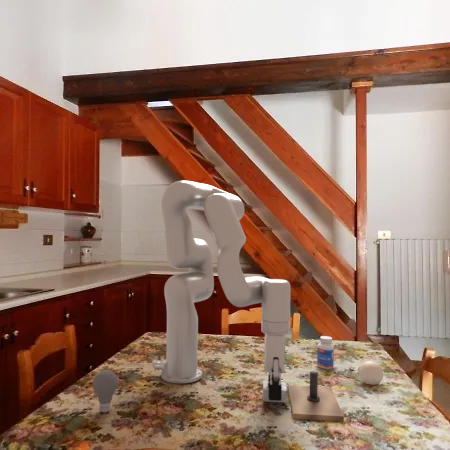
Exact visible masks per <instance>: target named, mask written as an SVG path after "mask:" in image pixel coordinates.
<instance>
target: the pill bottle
mask: <svg viewBox="0 0 450 450" xmlns="http://www.w3.org/2000/svg"><path fill="white" fill-rule="evenodd" d="M316 349H317V351H316V352H317V356H316V358H317V359H316V366H317V367H318V368H321V369H326V370H327V369H328V370H331V369H332V368H334V361H335V359H334V358H335V357H334V356H335V346H334V344H333V337H331V336H328V335H326V336H325V335H321V336H320V337H319V343H317V348H316Z"/></svg>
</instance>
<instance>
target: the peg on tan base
mask: <svg viewBox="0 0 450 450" xmlns="http://www.w3.org/2000/svg"><path fill="white" fill-rule="evenodd" d="M318 376H319V374H318V372H317V371H315V370H314V371H309V386H308V385H287V392H288V393H287V394H288V398H289V402H290V403H289V404H290V408H291V413H292V414H291V415H292V419H295V420H312V421H327V422H328V421H330V422H345V416H344V413H343V411H342V409H341V407H340V405H339V402H338V400H337V399H336V396H335V394H334V391H333V389H332V387H328V386H327V387H325V386H324V387H323V386H319V385H318V380H319V377H318Z"/></svg>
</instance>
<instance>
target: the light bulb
mask: <svg viewBox="0 0 450 450" xmlns="http://www.w3.org/2000/svg"><path fill="white" fill-rule="evenodd" d="M118 384H119V378H118V376H117V374H116V373H115V372H114V371H112V370H110V369H103V370H101V371H100V372H98V373H96V375H95V376H94V378H93V381H92V388H93V391H94V392H95V394H96V396H97V400H98V403H99V412H101V413H107V412H109V411H111V404H112V403H111V401H113V395H114V393H115V392H116V389H117V388H118Z"/></svg>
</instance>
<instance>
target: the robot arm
mask: <svg viewBox="0 0 450 450" xmlns="http://www.w3.org/2000/svg"><path fill="white" fill-rule="evenodd" d="M187 210H198V211H203V212H204V215H205V218H206V221H207V223H208V225H209V227H210V231H211V233H212V236H213V238H214V241H215V243H216V245H217V249H218V252H217V257H216V258H217V261H216V263H217V264H216V267H217V268H216V272H217V277H218V280H219V282H220V285H221V289H222V290H223V293H224V295H225V297H226V299H227V300H228V301H229V303H231V304H232V305H233V306H235V307H237V308H243V307H248V306H252V305H256V304H260V303H261V325H260V326H261V330H260V331H261V333H263V334H264V352H263V353H264V354H263V355H264V356H263V357H264V362H263V364H264V365H263V366H264V367H263V369H264V373H265V374H268V380H267V381H270V384H269V400H275V401H281V392H282V384H281V382H282V374H283V373H284V371H285V359H286V358H285V357H286V336H287V335H290V333H291V284H290V281H288V280H287V279H281V278H268V277H263V276H259V275H252V276H245V275H244V272H243V270H242V267H241V264H240V252H241V249H242V248H243V246H244V245H245V243H246V242H247V236H246V235H245V232H244V230H243V227H242V224H241V222H240V220H241V219H242V218H243V217H244V215H245V205H244V203H243V201H242V199H241V198H240V197H239V196H237V195H235V194H233V193H229V192H227V191H225V190H222V189H220V188H217V187H215V186H213V185H210V184H207V183H201V182H196V181H191V180H177V181H174V182H172V183H170V184H169V185H168V186H167V188H166V189H165V190H164V192H163V195H162V198H161V213H162V216H163V223H164V237H165V238H164V239H165V250H166V260H167V263H168V265H169V266H170V267H171V268H172V269H177V270H182V269H183V270H184V269H188V272H183V273H176V274H174V275H172V276H170V277H169V278H168V279H167V280H166V281H165V284H164V289H163V291H164V299H165V304H166V305H165V306H166V349H165V351H166V355H165V356H166V357H165V360H162V361H160V360H159V361H157V360H153V361H152V368H154V370H157V371H160V370H161V372H160V378H161V379H162V380H163V381H165V382H167V383H170V384H181V385H182V384H190V383H194V382H198V381H199V380H200V379H202V378H203V377H202V376H203V371H202V370H201V369H200V368H198V346H199V345H198V340H199V339H198V335H199V315H198V313H197V309H196V307H195V303H199V302H202V301H206V300H207V299H209V298H210V297H211V296H212V294H213V293H214V287H215V278H214V267H213V265H214V264H213V257H212V250H211V247H210V245H208V242H206V241H205V240H204V239H201V238H197V237H195V238H194V235H193V234H194V233H193V223H192V220H191V219H190V216H189V215H188V212H187Z"/></svg>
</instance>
